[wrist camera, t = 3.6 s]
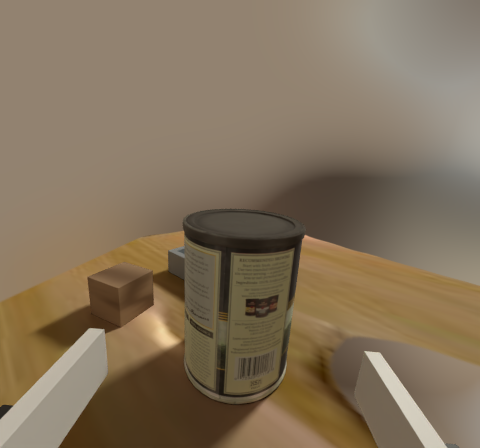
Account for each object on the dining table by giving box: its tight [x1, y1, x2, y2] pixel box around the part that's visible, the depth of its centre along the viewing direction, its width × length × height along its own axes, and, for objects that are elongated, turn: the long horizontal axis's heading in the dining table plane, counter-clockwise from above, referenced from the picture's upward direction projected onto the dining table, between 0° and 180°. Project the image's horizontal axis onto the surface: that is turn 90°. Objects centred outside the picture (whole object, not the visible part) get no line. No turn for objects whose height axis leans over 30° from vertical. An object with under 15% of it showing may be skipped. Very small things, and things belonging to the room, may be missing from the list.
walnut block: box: [88, 262, 154, 327], centre depth 29 cm, size 5×5×5 cm
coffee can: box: [183, 209, 305, 404], centre depth 22 cm, size 10×10×14 cm
